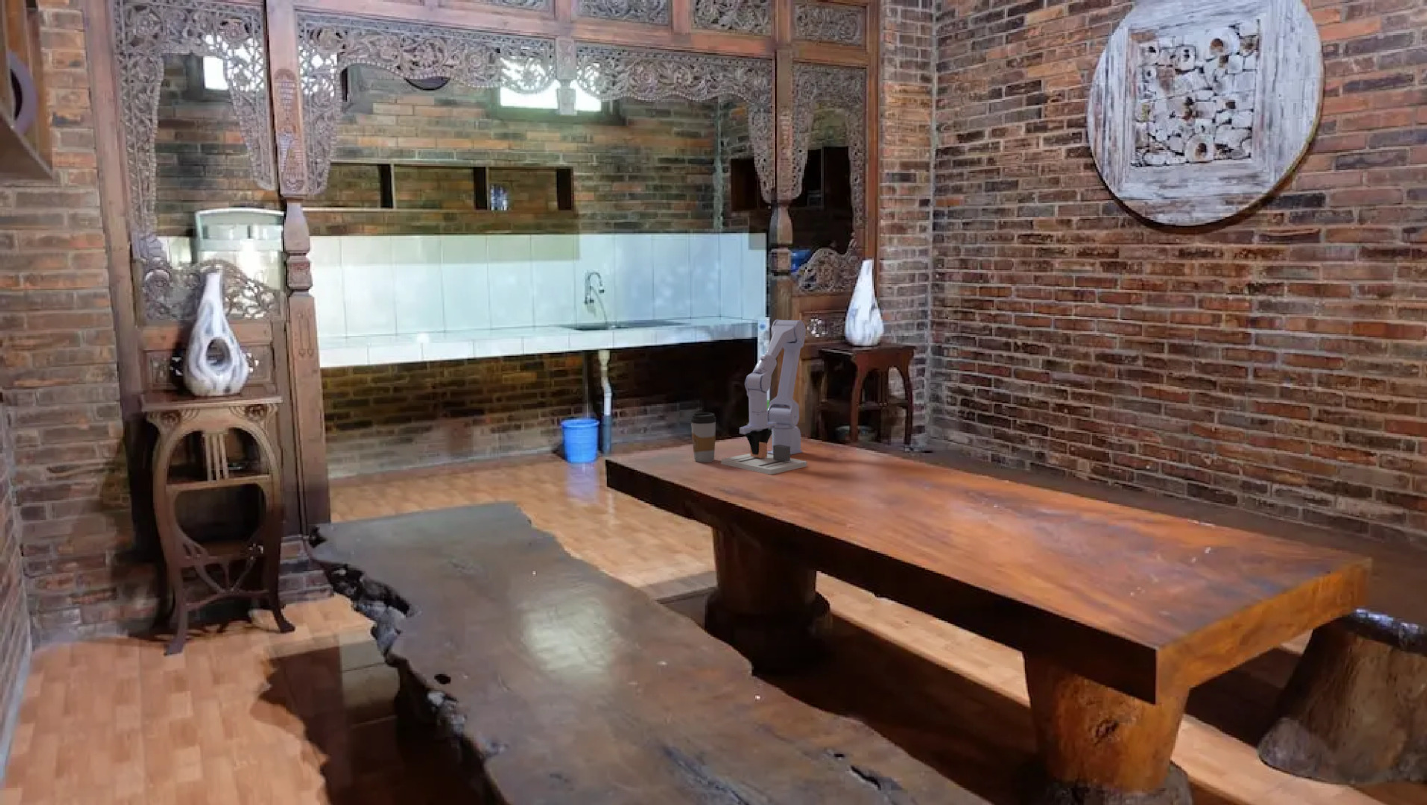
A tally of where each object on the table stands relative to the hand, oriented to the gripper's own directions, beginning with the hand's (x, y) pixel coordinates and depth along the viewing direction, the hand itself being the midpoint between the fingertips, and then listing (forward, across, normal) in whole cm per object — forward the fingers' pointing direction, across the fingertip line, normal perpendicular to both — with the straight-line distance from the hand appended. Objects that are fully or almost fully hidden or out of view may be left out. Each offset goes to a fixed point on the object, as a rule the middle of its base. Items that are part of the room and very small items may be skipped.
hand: (758, 453), depth 313 cm
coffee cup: (+3, +10, -15) cm, 18 cm away
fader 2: (+1, -1, +9) cm, 9 cm away
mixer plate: (+3, +2, +4) cm, 5 cm away
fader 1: (+1, 0, 0) cm, 1 cm away
